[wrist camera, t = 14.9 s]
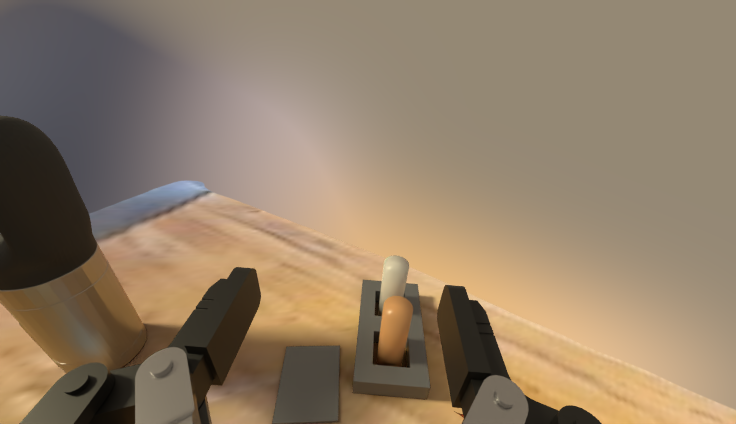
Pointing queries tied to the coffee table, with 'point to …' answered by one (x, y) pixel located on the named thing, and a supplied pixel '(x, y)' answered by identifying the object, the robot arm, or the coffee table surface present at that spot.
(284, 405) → the lid plate
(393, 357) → the peg
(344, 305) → the coffee table surface
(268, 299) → the coffee table surface
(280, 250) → the coffee table surface
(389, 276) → the housing
